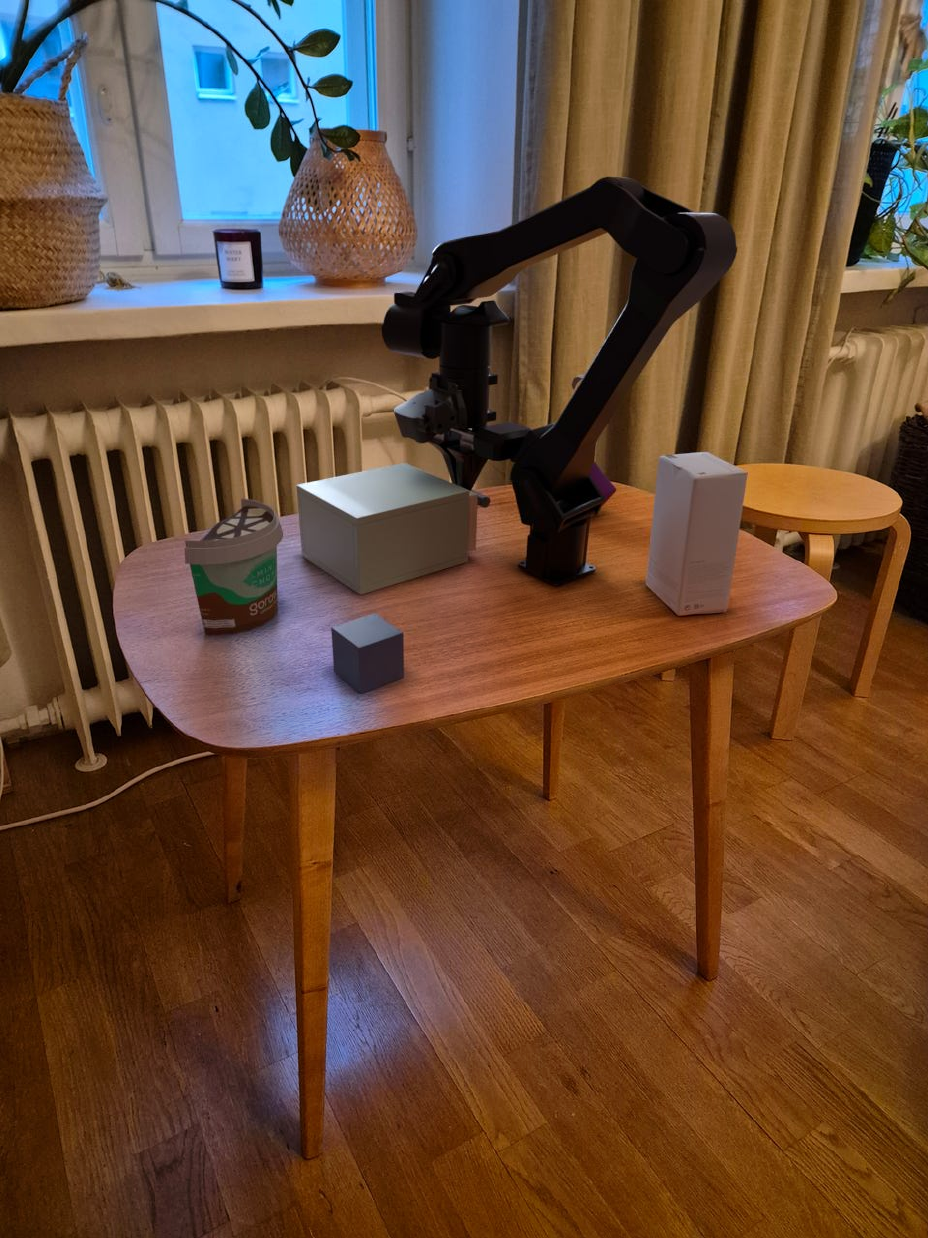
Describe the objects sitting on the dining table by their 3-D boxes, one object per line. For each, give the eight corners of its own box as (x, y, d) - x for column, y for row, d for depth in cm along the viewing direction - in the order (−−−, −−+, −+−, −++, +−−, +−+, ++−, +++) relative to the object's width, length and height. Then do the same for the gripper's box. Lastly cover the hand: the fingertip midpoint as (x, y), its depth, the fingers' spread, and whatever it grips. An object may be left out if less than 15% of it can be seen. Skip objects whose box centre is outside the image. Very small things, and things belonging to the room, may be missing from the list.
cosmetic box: (727, 613, 82) (755, 473, 75) (673, 618, 81) (697, 476, 74) (689, 578, 89) (711, 448, 82) (639, 583, 88) (657, 451, 81)
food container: (258, 649, 73) (247, 549, 69) (197, 641, 74) (181, 542, 70) (308, 592, 84) (301, 502, 79) (253, 585, 85) (243, 496, 80)
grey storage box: (405, 528, 100) (404, 462, 96) (467, 561, 92) (469, 490, 88) (301, 556, 92) (296, 484, 88) (360, 595, 84) (356, 518, 80)
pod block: (376, 656, 73) (374, 612, 71) (404, 677, 70) (403, 632, 68) (333, 671, 70) (330, 627, 68) (360, 694, 67) (358, 648, 65)
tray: (445, 513, 103) (446, 462, 100) (503, 541, 95) (506, 486, 92) (325, 544, 93) (321, 489, 90) (379, 578, 85) (377, 519, 82)
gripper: (357, 358, 90) (363, 490, 98) (461, 388, 78) (458, 537, 85) (435, 349, 97) (435, 474, 104) (543, 375, 84) (534, 515, 91)
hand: (462, 498), depth 96 cm, fingers closed
